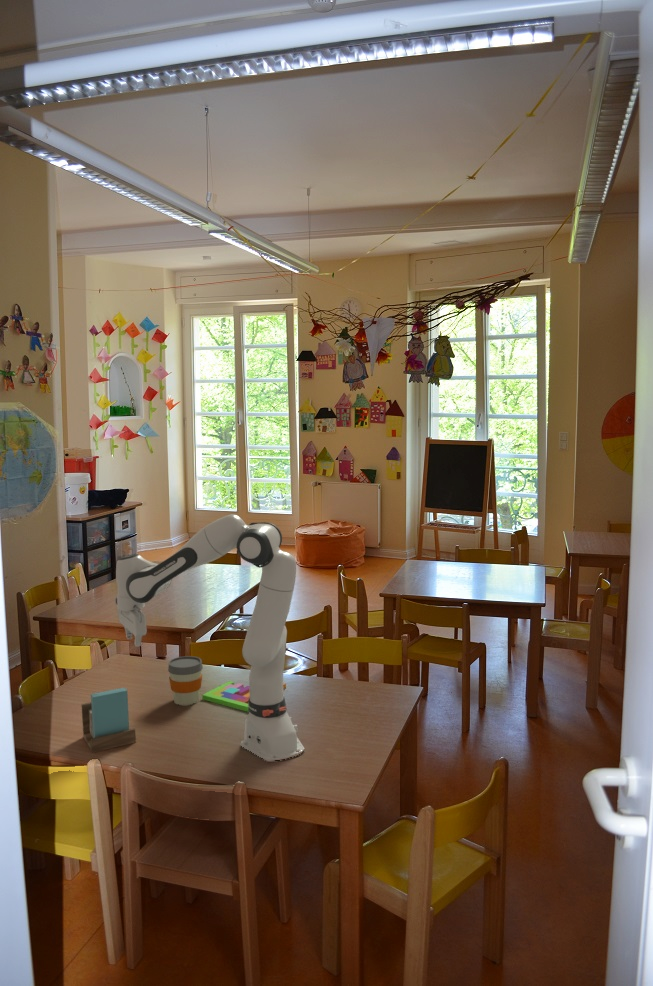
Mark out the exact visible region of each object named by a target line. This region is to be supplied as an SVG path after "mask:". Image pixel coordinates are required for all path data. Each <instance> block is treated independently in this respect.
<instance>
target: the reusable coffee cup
mask: <svg viewBox="0 0 653 986" xmlns="http://www.w3.org/2000/svg"><path fill="white" fill-rule="evenodd" d="M167 669H168V670H167V672H169V679H168V680H169V685H170V690H171V691H172V695H173V702H174V704H176V705H178V704H179V706H191V705H194V704H193V703H195V704H196V703H198V702H199V701H198V700H199V699H200V689H201V688H202V682H203V673H202V671H203V661H202V658H200V657H199V656H193V655H185V656H178V657H175V658H172V659H170V660H169V661H168V668H167ZM190 704H191V705H190Z"/></svg>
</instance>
